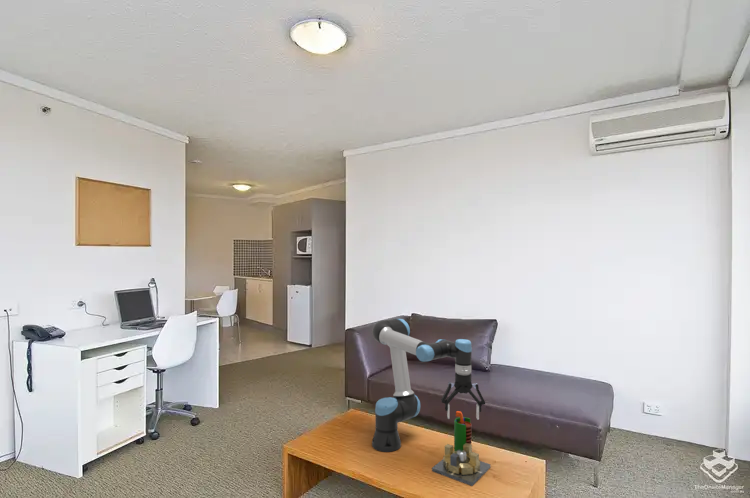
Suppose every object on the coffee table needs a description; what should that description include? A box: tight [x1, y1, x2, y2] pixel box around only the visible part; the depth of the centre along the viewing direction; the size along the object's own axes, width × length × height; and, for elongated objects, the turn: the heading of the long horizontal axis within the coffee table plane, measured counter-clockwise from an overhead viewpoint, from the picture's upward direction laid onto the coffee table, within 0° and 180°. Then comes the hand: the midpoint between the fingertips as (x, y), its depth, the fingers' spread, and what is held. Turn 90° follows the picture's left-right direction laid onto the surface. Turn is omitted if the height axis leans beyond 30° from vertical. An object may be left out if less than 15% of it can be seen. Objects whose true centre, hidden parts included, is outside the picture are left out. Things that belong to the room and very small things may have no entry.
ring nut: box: [442, 443, 481, 475], centre depth 192 cm, size 16×16×7 cm
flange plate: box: [431, 450, 492, 487], centre depth 192 cm, size 20×20×8 cm
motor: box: [453, 410, 473, 451], centre depth 209 cm, size 10×9×20 cm
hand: (462, 418), depth 194 cm, fingers open, 13 cm apart
